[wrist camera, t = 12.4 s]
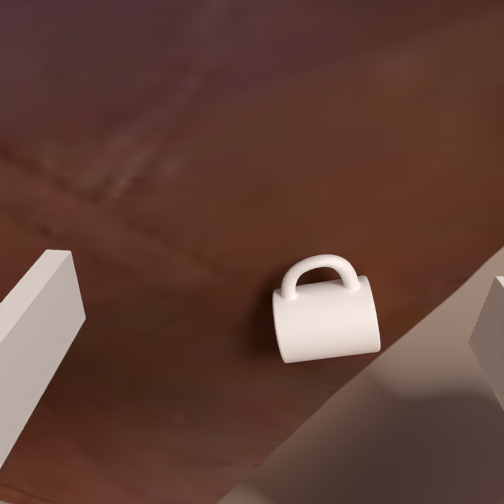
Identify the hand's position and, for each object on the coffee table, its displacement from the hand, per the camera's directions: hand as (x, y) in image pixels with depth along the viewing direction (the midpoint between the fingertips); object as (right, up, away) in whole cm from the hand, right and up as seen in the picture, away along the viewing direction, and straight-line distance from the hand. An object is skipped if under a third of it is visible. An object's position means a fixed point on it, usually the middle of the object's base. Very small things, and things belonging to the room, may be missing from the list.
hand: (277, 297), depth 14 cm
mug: (+7, -2, +35) cm, 36 cm away
